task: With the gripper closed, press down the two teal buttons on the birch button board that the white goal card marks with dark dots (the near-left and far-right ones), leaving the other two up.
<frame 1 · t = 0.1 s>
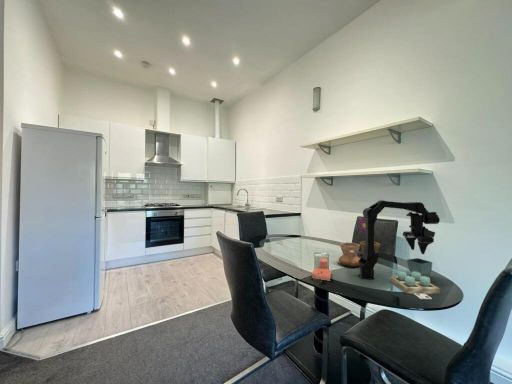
hand: (417, 251, 125), 15 cm above the table, fingers open, 9 cm apart
button C: (416, 276, 116), point 4 cm above the table, slide at 0.0 cm
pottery: (322, 276, 132), on the table
button A: (402, 276, 117), point 4 cm above the table, slide at 0.0 cm
ceramic jug: (349, 265, 151), on the table
button B: (409, 281, 110), point 4 cm above the table, slide at 0.0 cm
flowerpot: (370, 256, 169), on the table
board: (413, 287, 113), on the table
goal card: (422, 296, 103), on the table
button D: (425, 281, 109), point 4 cm above the table, slide at 0.0 cm
flower pot: (419, 276, 127), on the table
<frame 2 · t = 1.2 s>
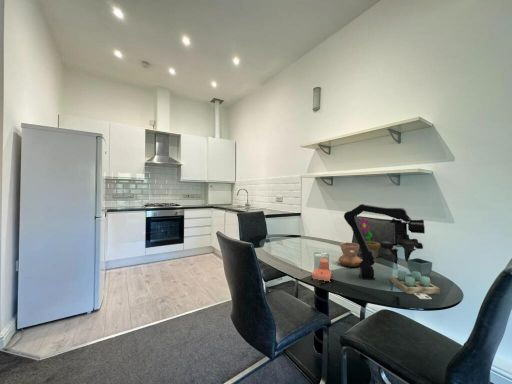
hand: (401, 261, 117), 12 cm above the table, fingers open, 5 cm apart
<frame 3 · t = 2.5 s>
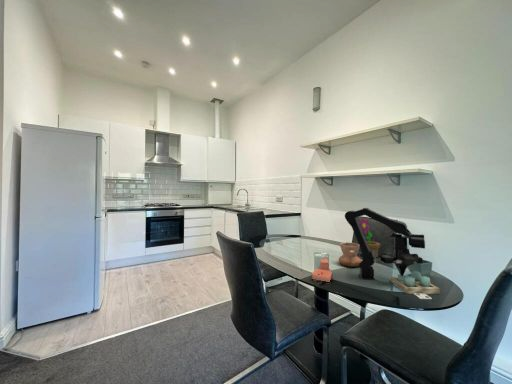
hand: (401, 275, 117), 5 cm above the table, fingers closed, pressing on button A
button A: (402, 279, 117), point 3 cm above the table, slide at 1.7 cm, touching gripper
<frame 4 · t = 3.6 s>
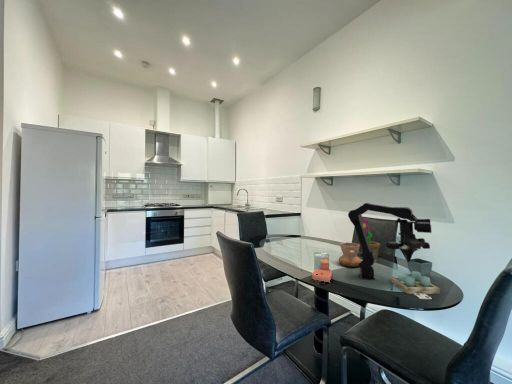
hand: (408, 261, 115), 12 cm above the table, fingers closed
button A: (402, 280, 117), point 2 cm above the table, slide at 2.0 cm
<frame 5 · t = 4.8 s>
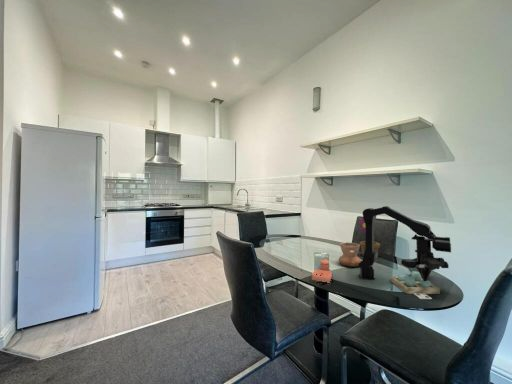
hand: (424, 280, 109), 5 cm above the table, fingers closed, pressing on button D
button D: (425, 285, 109), point 3 cm above the table, slide at 1.7 cm, touching gripper
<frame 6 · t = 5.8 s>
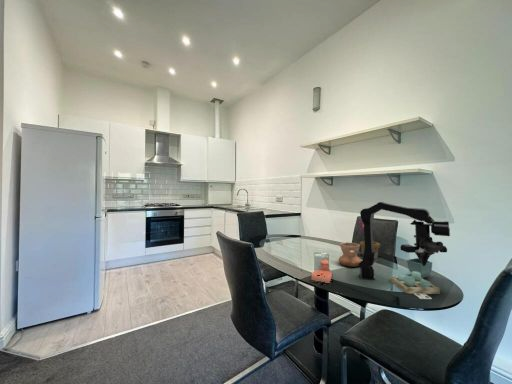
hand: (423, 265, 110), 12 cm above the table, fingers closed
button D: (425, 285, 109), point 2 cm above the table, slide at 2.0 cm
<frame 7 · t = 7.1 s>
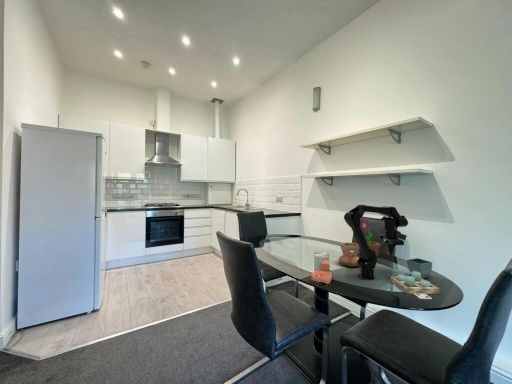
hand: (390, 254, 131), 12 cm above the table, fingers closed
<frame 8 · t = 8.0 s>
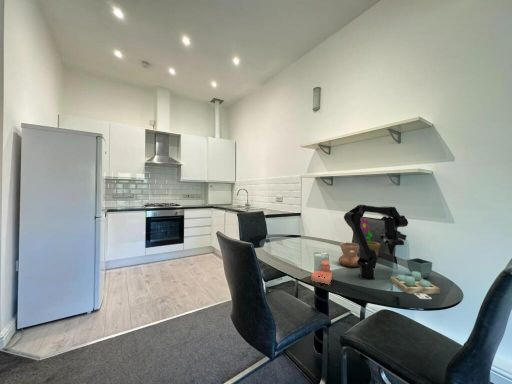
hand: (390, 254, 131), 12 cm above the table, fingers closed
at the end: button A slide at 2.0 cm; button D slide at 2.0 cm; button B slide at 0.0 cm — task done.
